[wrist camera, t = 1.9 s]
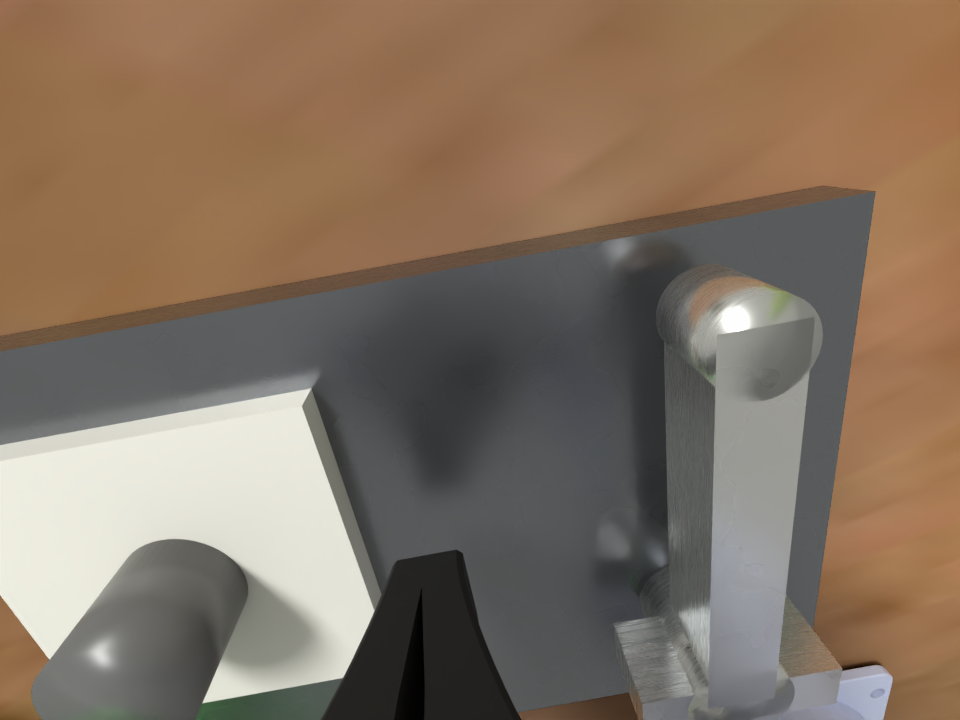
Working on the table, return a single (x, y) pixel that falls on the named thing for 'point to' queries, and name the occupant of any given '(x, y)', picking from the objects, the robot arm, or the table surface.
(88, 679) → the cover
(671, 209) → the table surface
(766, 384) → the t key
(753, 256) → the panel
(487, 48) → the table surface
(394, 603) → the robot arm
